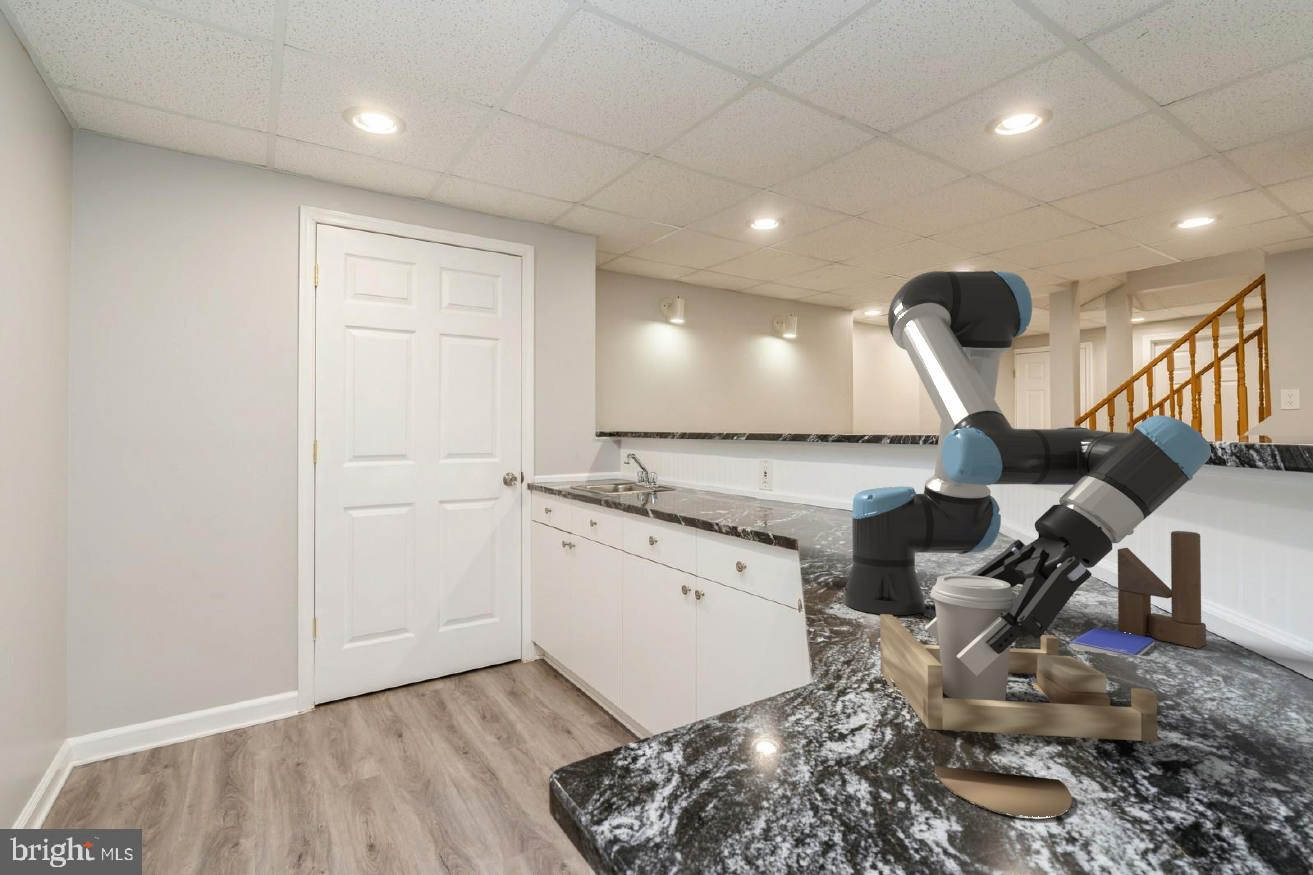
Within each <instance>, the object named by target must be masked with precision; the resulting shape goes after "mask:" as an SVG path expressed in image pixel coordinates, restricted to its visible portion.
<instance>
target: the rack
mask: <svg viewBox="0 0 1313 875" xmlns="http://www.w3.org/2000/svg"><path fill="white" fill-rule="evenodd" d="M879 615H880V618H879V620H880V623H879V626H880V627H879V629H880V631H879V632H880V635H879V636H880V638H879V639H880V640H879V642H880V646H879V647H880V653H879V654H880V663H879V665H880V670H879V671H880V672H879V673H880V674H881V675H882V677H884V678H883V679H885V681H886V682H887V683H888V685H889V687H890V688H891V689H892V691H893V692H894V694H895V695H896V697H897V698H899V695H898V693H897V691H896V688H895V686H894V684H895V685H896V687H897V688H898V690H899V691H900V692H901V694H902V695H903V697H904V698H905V699H906V701H907V702H908V703H909V705H910V706H911V707H912V709H913V710H914V712H915V713H916V714H917V716H918V717H919V719H920V720H921V722H922V723H923V724H924V726H925V727H926V728H927V729H928V730H937V731H938V730H941V731H942V730H943V731H956V732H958V731H959V732H962V731H963V732H975V733H976V732H978V733H996V734H1012V735H1014V734H1015V735H1031V736H1033V735H1034V736H1035V735H1036V736H1050V737H1053V736H1054V737H1066V738H1067V737H1070V738H1083V739H1084V738H1087V739H1088V738H1089V739H1103V740H1104V739H1105V740H1125V741H1137V742H1139V741H1140V742H1141V741H1142V742H1143V741H1144V742H1155V743H1156V742H1158V710H1157V709H1158V708H1157V707H1158V705H1157V704H1158V696H1157V694H1156V693H1154V692H1153V691H1152V690H1149V689H1148V688H1138V687H1137V688H1133V687H1132V688H1130V698H1131V699H1130V700H1131V701H1130V703H1131V704H1130V706H1111V705H1110V706H1095V705H1075V704H1055V703H1052V702H1051V703H1050V702H1031V701H1010V700H1009V701H1008V700H1005V701H994V700H974V699H953V698H950V697H944V696H943V693H944V691H943V681H942V665H941V660H940V649H939V644H937V645H935V644H922V643H921V642H919V641H918V640H917V638H915V636H914V635H912V633H911V632H910V631H908V630H907V628H905V627H904V625H903V624H901V623H900V622H899V620H897V619H896V617H894V615H887V614H879ZM1059 642H1060V641H1059V638H1058V637H1057V636H1055V635H1053V634H1043V635H1042V636H1041V637H1040V649H1037V648H1035V649H1034V648H1014V647H1013V648H1011V647H1010V656H1009V667H1008V674H1009V673H1010V674H1011V673H1012V674H1013V673H1015V674H1030V675H1031V674H1034V675H1035V674H1036V675H1037V668H1038V656H1037V655H1048V656H1060V654H1059V650H1060V649H1059V647H1060V646H1059Z"/></svg>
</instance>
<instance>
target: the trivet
mask: <svg viewBox="0 0 1313 875" xmlns="http://www.w3.org/2000/svg"><path fill="white" fill-rule="evenodd" d="M934 774H935V776H936V775H937V776H936V778H937V779H938V778H939V780H940V781H941V782H942V783H943V784H944V785H945V786H946V787H948V788H949V789H950V790H951V791H952V792H955V793H956V794H957V795H959V796H961V797H963V798H965V799H967V800H969V801H972V802H975V803H976V804H978V805H980V806H984V807H986V808H988V809H989V810H996V811H999V812H1004V813H1008V814H1011V815H1023V816H1028V817H1029V816H1030V817H1032V816H1033V817H1038V816H1039V817H1046V816H1048V817H1049V816H1050V817H1051V816H1055V815H1060V814H1062V813H1064V812H1065V811H1066V810H1068V809H1069V808H1070V809H1071V807H1072V794H1071V792H1070V790H1069V788H1068V787H1067V785H1066V784H1065V783H1063V781H1062V780H1061V779H1056V778H1047V777H1041V776H1040V777H1039V776H1032V775H1031V776H1030V775H1021V774H1011V773H1004V772H994V771H985V770H979V769H977V770H975V769H970V768H969V769H968V768H967V769H966V768H961V767H959V768H958V767H951V766H950V767H949V766H940V765H934ZM939 780H938V781H939ZM940 781H939V782H940ZM1070 806H1071V807H1070ZM1070 809H1069V810H1070ZM1069 810H1068V811H1069Z"/></svg>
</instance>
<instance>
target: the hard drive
mask: <svg viewBox="0 0 1313 875" xmlns="http://www.w3.org/2000/svg"><path fill="white" fill-rule="evenodd" d="M1155 641H1156V639H1155V638H1153V637H1150V636H1148V637H1147V636H1139V635H1134V634H1129V633H1124V632H1120V631H1119V630H1118V631H1117V630H1114V629H1113V630H1112V629H1109V628H1108V629H1107V628H1101V627H1093V628H1092V629H1091V630H1088V631H1087V632H1085V633H1084V634H1082V635H1079V636H1078V637H1075V638H1074V639H1073V640H1071V641H1069V648H1071V647H1072V649H1077V650H1079V651H1080V650H1081V651H1085V650H1087V651H1086V652H1089V651H1090V652H1091V653H1099V654H1101V653H1102V654H1112V655H1113V654H1114V655H1125V656H1126V655H1127V656H1140V657H1141V656H1142V655H1143V654H1145V653H1146V652H1147V651H1149V650H1150V649H1151V648H1152V647H1154V646H1155V645H1156V642H1155ZM1154 644H1155V645H1154ZM1151 646H1152V647H1151ZM1150 647H1151V648H1150ZM1149 648H1150V649H1149ZM1148 649H1149V650H1148Z"/></svg>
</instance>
